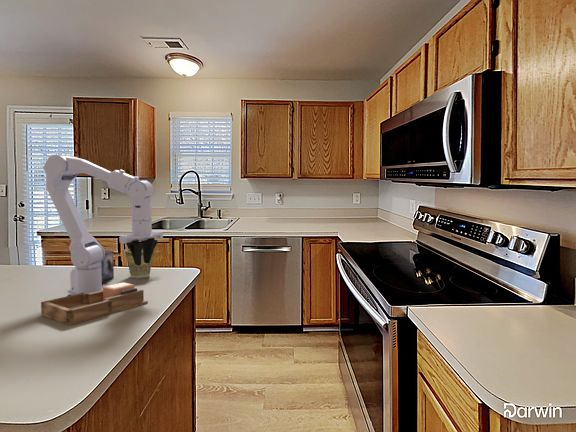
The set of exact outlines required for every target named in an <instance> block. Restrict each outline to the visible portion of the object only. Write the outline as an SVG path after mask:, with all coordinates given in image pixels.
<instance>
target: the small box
mask: <svg viewBox="0 0 576 432" xmlns="http://www.w3.org/2000/svg"><path fill="white" fill-rule="evenodd" d="M104 251H105V257H104V259H103V260H102V261H101V275H102V284H103V283H106V282H108V281H110V280H114V279H115V278H114V277H115V275H114V273H115V272H114V271H115V270H114V265H115V263H114V261H115V260H114V257H115V256H114V250H106V249H104Z"/></svg>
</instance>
